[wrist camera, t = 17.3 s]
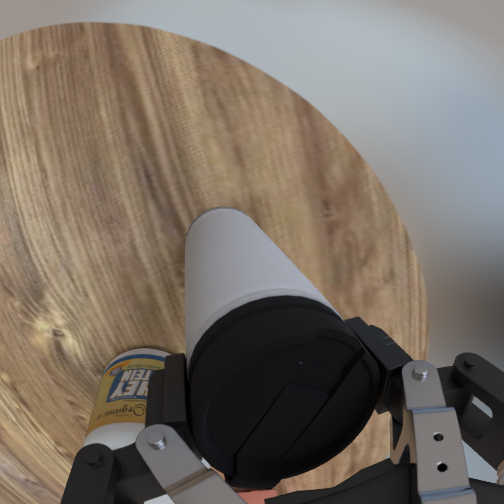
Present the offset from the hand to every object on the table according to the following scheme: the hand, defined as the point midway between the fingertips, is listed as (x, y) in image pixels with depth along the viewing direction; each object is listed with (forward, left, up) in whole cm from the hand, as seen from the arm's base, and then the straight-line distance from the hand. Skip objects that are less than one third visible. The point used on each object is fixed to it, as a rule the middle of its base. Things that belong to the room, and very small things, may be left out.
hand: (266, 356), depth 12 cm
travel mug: (0, 0, -16) cm, 16 cm away
